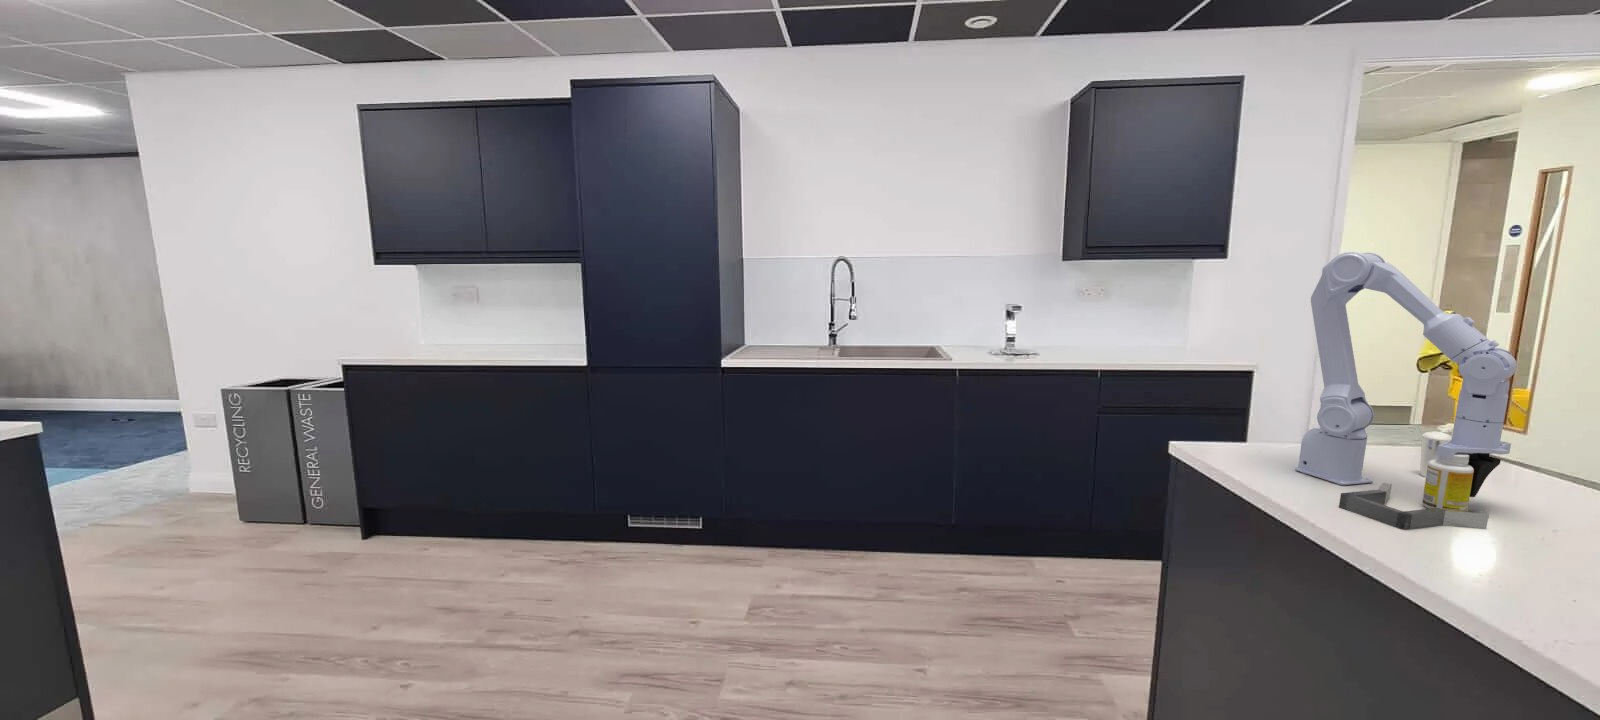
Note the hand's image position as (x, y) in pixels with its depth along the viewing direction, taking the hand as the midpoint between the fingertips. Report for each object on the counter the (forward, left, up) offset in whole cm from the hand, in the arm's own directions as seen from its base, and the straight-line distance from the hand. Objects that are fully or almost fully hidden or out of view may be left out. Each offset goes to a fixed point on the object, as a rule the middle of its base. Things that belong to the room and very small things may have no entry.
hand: (1465, 495), depth 112 cm
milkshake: (-14, +14, -2) cm, 20 cm away
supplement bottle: (0, -5, -2) cm, 5 cm away
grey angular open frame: (0, -15, -2) cm, 15 cm away
